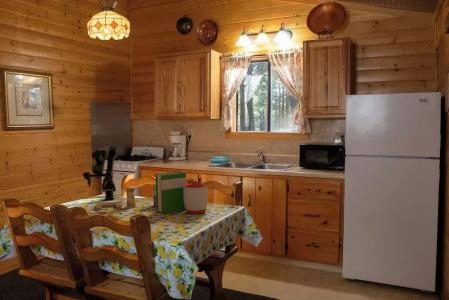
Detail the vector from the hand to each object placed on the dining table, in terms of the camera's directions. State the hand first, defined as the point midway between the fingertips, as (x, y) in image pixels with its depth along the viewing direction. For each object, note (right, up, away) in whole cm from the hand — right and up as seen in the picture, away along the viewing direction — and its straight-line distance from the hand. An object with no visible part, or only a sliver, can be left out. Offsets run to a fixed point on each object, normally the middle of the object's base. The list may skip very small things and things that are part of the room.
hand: (96, 187), depth 253 cm
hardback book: (+51, -15, -8) cm, 53 cm away
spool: (+22, -14, +4) cm, 26 cm away
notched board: (+7, -14, +6) cm, 16 cm away
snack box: (+47, -13, +7) cm, 49 cm away
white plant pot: (+67, -15, -11) cm, 69 cm away
